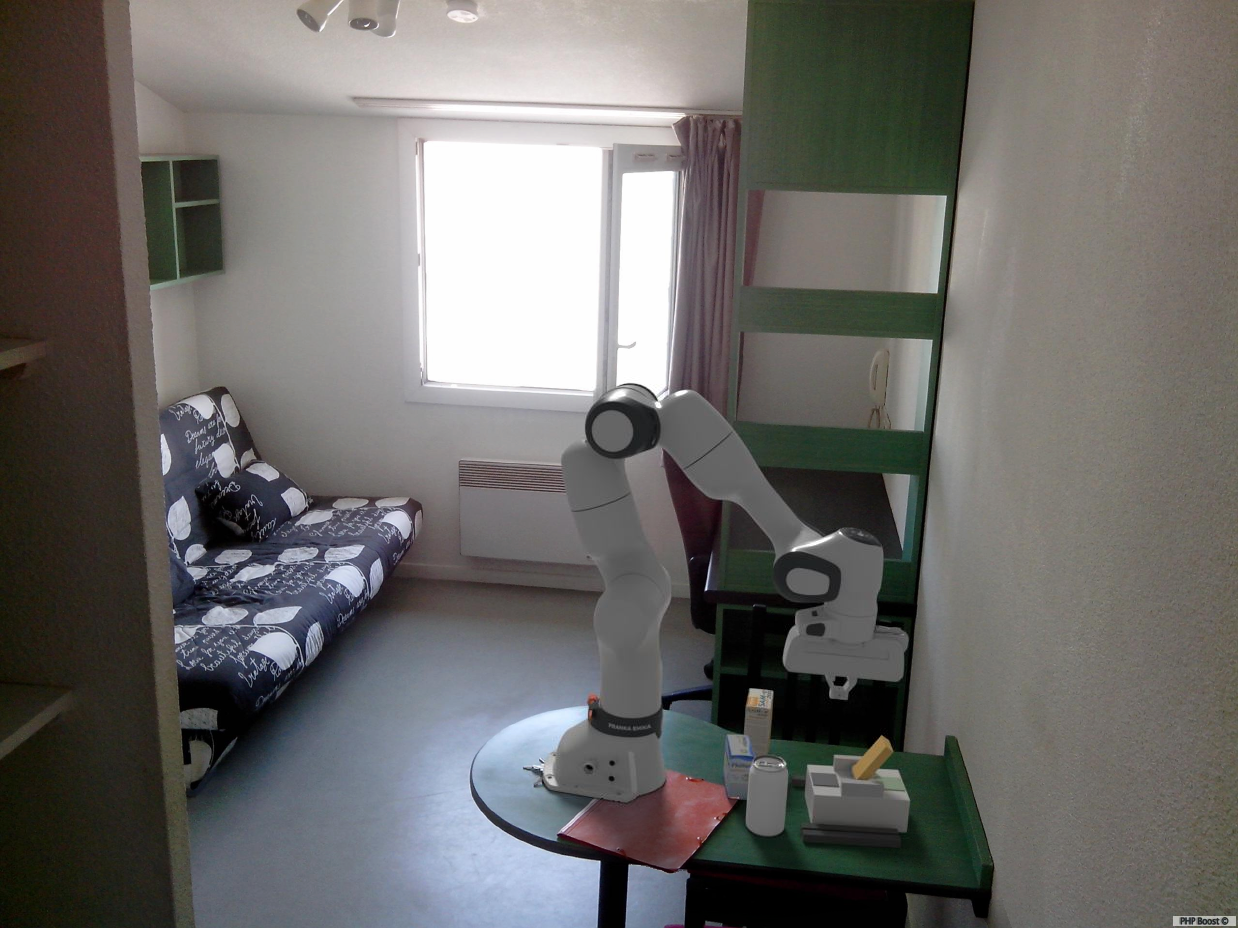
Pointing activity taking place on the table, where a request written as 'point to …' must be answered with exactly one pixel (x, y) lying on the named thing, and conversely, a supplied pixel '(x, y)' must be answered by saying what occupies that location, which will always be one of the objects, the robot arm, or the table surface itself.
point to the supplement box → (759, 720)
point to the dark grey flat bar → (850, 835)
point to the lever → (872, 759)
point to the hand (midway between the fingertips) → (838, 697)
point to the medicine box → (737, 765)
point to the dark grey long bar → (798, 780)
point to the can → (767, 795)
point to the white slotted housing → (856, 796)
